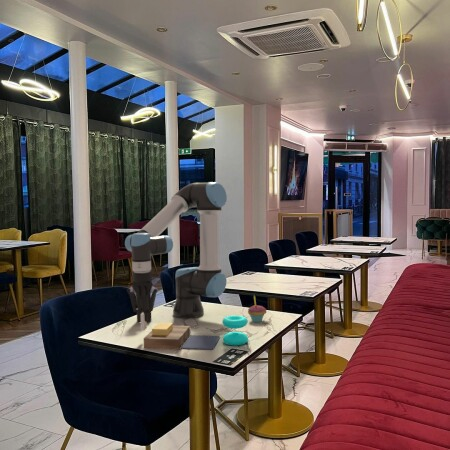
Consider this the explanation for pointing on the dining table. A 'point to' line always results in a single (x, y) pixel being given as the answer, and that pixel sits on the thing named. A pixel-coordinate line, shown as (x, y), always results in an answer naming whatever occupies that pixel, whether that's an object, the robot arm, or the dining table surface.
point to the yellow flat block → (162, 329)
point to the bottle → (143, 306)
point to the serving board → (168, 339)
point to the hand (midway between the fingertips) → (143, 329)
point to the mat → (201, 342)
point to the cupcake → (256, 312)
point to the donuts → (235, 323)
